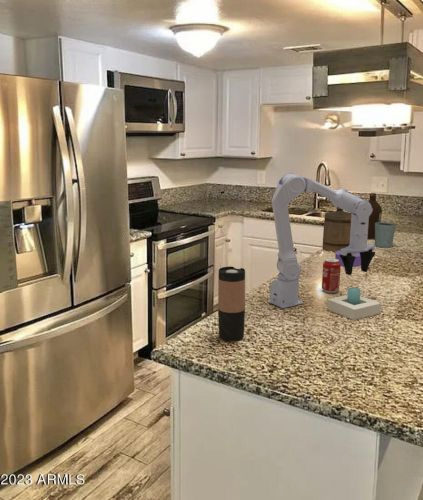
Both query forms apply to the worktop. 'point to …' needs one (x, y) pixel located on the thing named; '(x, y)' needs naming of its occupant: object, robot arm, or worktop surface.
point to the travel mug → (231, 303)
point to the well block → (354, 307)
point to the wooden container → (336, 230)
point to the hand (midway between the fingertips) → (356, 272)
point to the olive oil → (373, 216)
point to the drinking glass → (384, 234)
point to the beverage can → (331, 275)
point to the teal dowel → (353, 296)
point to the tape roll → (357, 260)
